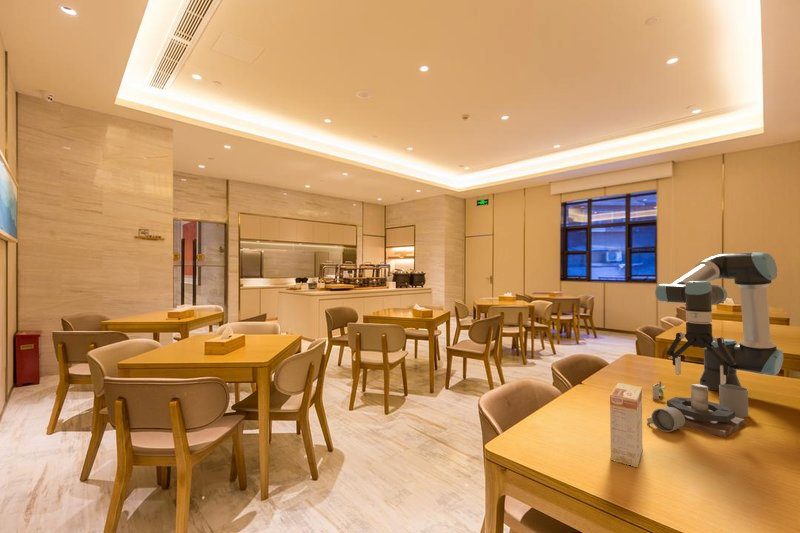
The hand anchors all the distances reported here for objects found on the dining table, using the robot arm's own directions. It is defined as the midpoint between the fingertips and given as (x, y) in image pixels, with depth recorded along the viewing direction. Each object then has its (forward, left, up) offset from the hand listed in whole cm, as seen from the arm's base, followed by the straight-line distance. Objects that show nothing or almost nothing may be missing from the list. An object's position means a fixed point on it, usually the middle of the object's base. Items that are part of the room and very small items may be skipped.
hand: (699, 378), depth 135 cm
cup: (-21, +4, -16) cm, 26 cm away
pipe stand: (0, 0, -16) cm, 16 cm away
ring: (0, 0, -12) cm, 12 cm away
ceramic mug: (+18, -4, -16) cm, 25 cm away
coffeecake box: (+49, -2, -16) cm, 52 cm away
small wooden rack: (-15, -20, -16) cm, 30 cm away
